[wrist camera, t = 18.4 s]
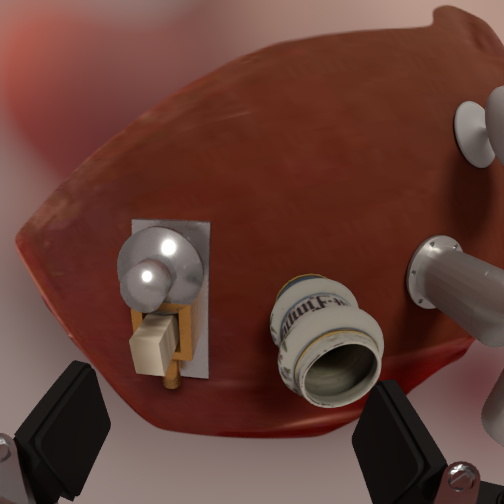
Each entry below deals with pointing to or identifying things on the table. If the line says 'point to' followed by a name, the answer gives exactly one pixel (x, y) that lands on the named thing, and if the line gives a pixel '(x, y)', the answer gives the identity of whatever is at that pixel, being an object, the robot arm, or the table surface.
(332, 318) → the apothecary jar
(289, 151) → the table surface
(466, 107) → the chalice
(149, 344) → the cream rectangular block
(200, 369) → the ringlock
